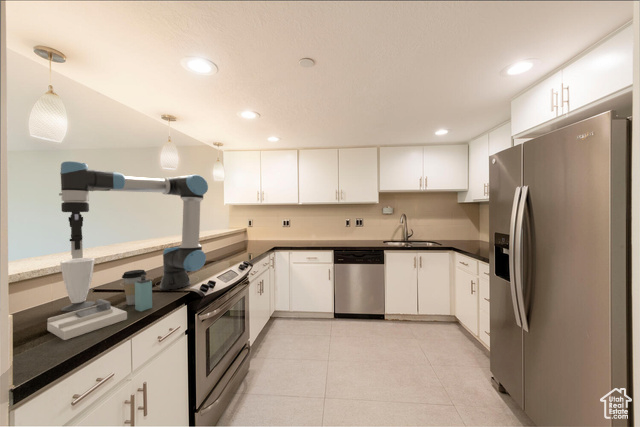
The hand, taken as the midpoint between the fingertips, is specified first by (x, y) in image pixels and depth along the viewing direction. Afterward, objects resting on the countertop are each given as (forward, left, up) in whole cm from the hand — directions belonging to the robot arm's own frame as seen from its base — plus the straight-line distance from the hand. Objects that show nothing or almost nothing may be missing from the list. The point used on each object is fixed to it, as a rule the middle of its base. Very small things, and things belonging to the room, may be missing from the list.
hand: (76, 256), depth 94 cm
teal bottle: (-20, +7, -26) cm, 34 cm away
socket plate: (-2, +5, -26) cm, 27 cm away
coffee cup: (-22, -5, -26) cm, 34 cm away
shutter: (-4, +3, -23) cm, 23 cm away
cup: (-8, -24, -26) cm, 36 cm away
